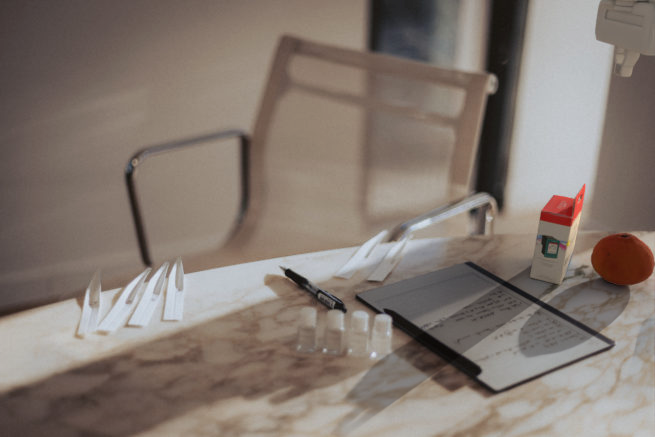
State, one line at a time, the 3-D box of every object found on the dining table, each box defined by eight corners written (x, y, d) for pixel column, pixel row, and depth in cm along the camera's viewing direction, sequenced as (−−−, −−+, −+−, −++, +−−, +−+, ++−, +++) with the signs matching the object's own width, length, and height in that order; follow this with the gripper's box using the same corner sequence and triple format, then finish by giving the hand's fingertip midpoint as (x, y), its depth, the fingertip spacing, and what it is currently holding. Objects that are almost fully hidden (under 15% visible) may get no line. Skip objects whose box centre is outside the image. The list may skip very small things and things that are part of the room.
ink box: (541, 258, 106) (555, 176, 100) (571, 265, 104) (587, 182, 98) (528, 278, 99) (543, 192, 94) (560, 286, 97) (577, 198, 91)
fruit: (575, 272, 102) (584, 227, 98) (618, 265, 104) (628, 221, 101) (614, 298, 94) (625, 251, 91) (660, 290, 97) (672, 243, 94)
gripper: (694, -7, 91) (671, 87, 96) (631, -14, 110) (615, 66, 115) (651, -9, 91) (630, 86, 96) (595, -15, 110) (581, 65, 115)
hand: (621, 75), depth 106 cm, fingers closed
